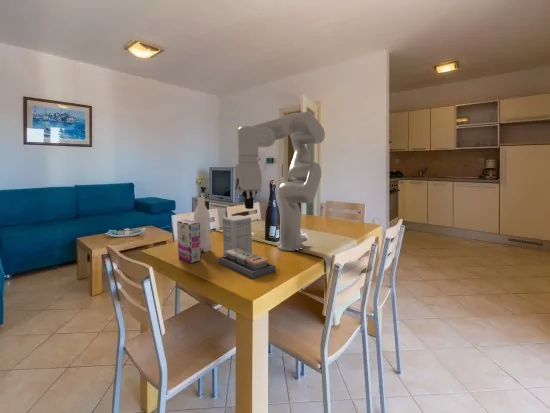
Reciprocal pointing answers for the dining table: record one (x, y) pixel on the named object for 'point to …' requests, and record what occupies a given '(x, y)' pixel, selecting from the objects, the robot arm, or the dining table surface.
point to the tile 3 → (257, 262)
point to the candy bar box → (189, 241)
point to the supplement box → (237, 233)
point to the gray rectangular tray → (246, 268)
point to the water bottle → (203, 224)
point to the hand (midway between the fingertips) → (249, 208)
